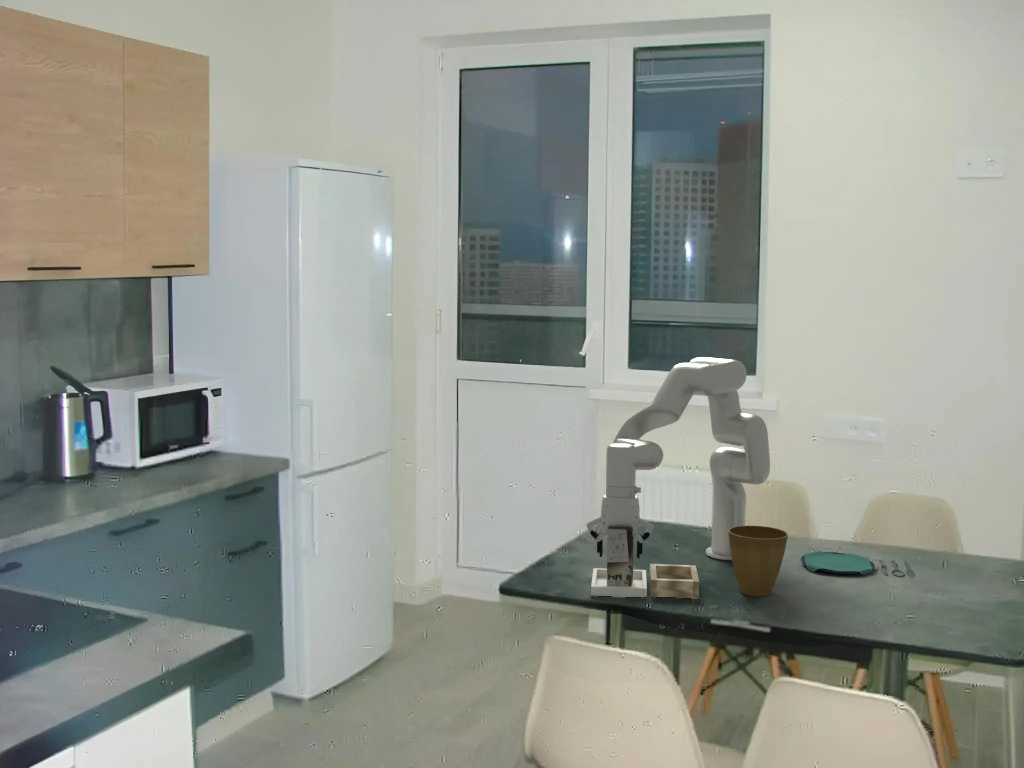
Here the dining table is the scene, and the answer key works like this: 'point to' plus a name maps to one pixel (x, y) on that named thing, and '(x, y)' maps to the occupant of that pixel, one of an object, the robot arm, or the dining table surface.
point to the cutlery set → (845, 563)
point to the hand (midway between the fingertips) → (619, 556)
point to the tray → (602, 589)
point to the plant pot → (757, 557)
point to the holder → (674, 581)
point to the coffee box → (620, 556)
